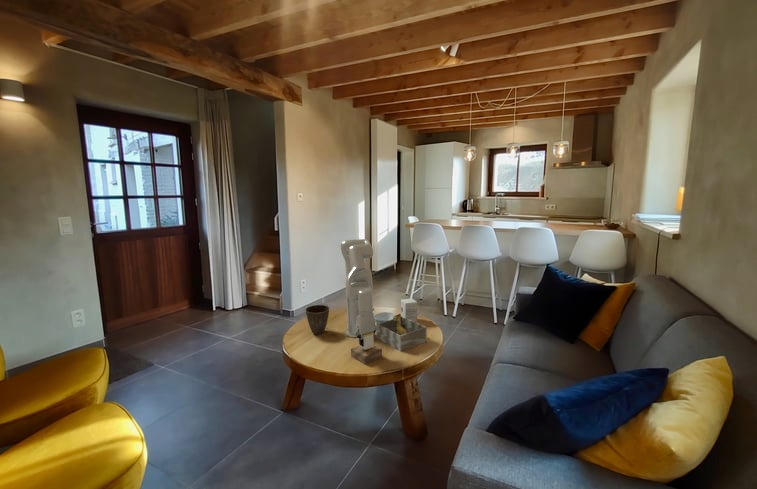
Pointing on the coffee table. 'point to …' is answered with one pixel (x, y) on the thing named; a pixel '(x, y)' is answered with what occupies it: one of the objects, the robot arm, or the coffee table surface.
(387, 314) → the chinaware
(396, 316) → the stuffed giraffe
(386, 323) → the grey crate
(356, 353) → the walnut box
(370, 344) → the tea tin
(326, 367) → the coffee table surface
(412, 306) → the supplement box
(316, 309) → the plant pot
